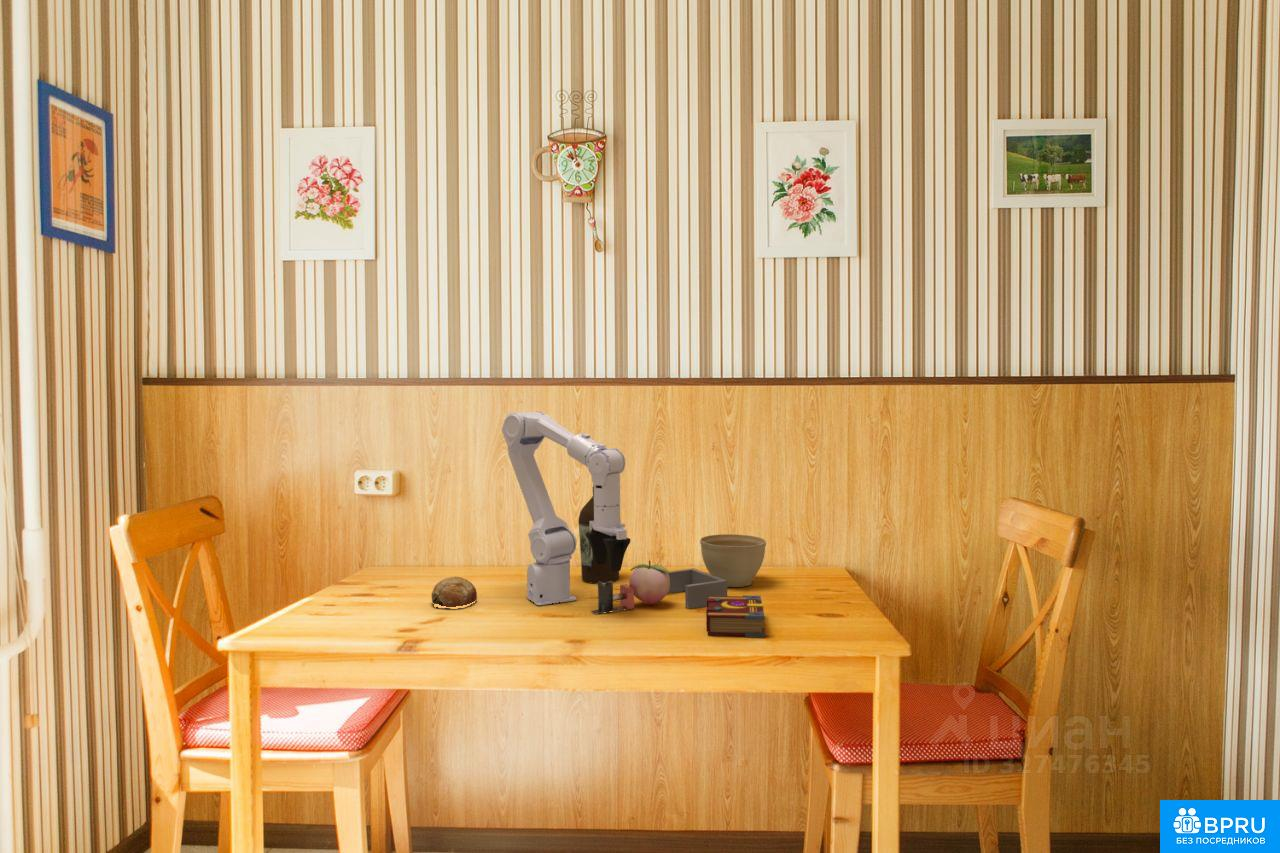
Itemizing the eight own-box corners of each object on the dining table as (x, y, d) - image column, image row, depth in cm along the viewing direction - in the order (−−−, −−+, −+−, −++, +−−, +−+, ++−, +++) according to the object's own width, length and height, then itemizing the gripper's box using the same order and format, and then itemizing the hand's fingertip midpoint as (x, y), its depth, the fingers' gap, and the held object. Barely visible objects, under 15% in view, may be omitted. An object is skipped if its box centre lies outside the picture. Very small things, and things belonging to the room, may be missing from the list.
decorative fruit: (675, 601, 176) (674, 557, 175) (666, 611, 168) (666, 565, 167) (635, 598, 178) (634, 555, 178) (625, 608, 170) (624, 563, 170)
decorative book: (706, 637, 150) (706, 612, 150) (707, 614, 166) (707, 591, 166) (765, 639, 149) (765, 613, 149) (760, 615, 165) (760, 591, 165)
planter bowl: (745, 595, 180) (745, 548, 180) (687, 585, 190) (687, 541, 190) (777, 581, 193) (777, 538, 193) (722, 572, 203) (721, 531, 203)
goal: (688, 609, 169) (688, 586, 169) (656, 594, 182) (656, 573, 182) (727, 602, 174) (727, 580, 174) (693, 588, 187) (693, 568, 186)
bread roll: (428, 620, 176) (416, 592, 172) (455, 591, 184) (445, 564, 180) (462, 626, 171) (451, 597, 168) (489, 596, 179) (478, 568, 176)
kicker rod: (602, 612, 166) (602, 584, 165) (595, 608, 169) (595, 581, 169) (634, 607, 169) (633, 580, 169) (626, 603, 172) (626, 576, 172)
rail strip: (595, 614, 166) (595, 613, 166) (590, 612, 168) (590, 610, 168) (632, 609, 170) (632, 607, 170) (627, 606, 172) (627, 605, 172)
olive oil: (610, 572, 204) (608, 478, 203) (628, 581, 195) (627, 482, 194) (572, 577, 199) (571, 480, 198) (589, 586, 190) (588, 484, 189)
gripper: (639, 507, 163) (639, 571, 164) (609, 499, 176) (609, 559, 177) (609, 510, 160) (609, 575, 161) (580, 502, 173) (581, 562, 173)
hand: (607, 567), depth 169 cm, fingers open, 7 cm apart
